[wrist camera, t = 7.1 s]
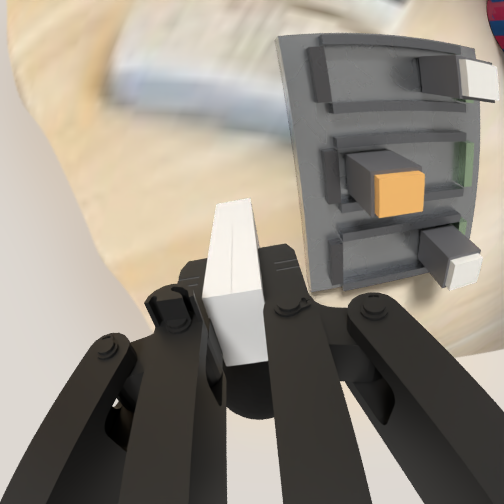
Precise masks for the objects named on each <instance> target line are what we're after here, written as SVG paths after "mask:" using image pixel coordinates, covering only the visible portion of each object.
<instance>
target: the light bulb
mask: <svg viewBox="0 0 504 504" xmlns="http://www.w3.org/2000/svg"><path fill="white" fill-rule="evenodd" d="M222 369H223V371H224V374H225V377H226V407H228V408H229V409H230V410H231V411H232V412H234V413H236V414H238V415H240V416H242V417H246V418H249V419H257V420H260V419H261V420H263V419H269V418H273V417H274V410H273V401H272V391H271V382H270V373H269V363H268V361H263V362H257V363H250V364H242V365H234V366H226V364H225V361H224V359H223V367H222Z"/></svg>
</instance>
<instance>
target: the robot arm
mask: <svg viewBox="0 0 504 504" xmlns="http://www.w3.org/2000/svg"><path fill="white" fill-rule="evenodd" d="M144 304H145V306H146V308H147V310H148V312H149V314H150V316H151V319H152V321H153V323H154V325H155V331H154V334H152V335H150V336H147V337H145V338H142V339H139V340H136V341H133V342H131V343H130V341H129V340H128V338H127V337H126V336H125V335H123V334H120V333H110V334H107V335H104V336H102V337H101V338H99V339H98V340H96V341H95V342H94V343H93V345H92V346H91V347H90V348H89V350H88V351H87V353H86V354H85V356H84V357H83V359H82V360H81V362H80V363H79V365H78V366H77V368H76V369H75V371H74V372H73V374H72V375H71V377H70V378H69V380H68V381H67V383H66V385H65V386H64V388H63V389H62V391H61V392H60V394H59V396H58V397H57V399H56V400H55V402H54V404H53V405H52V407H51V409H50V410H49V412H48V414H47V415H46V417H45V419H44V420H43V422H42V424H41V425H40V427H39V429H38V431H37V432H36V434H35V436H34V437H33V439H32V441H31V443H30V445H29V446H28V448H27V450H26V452H25V454H24V456H23V457H22V459H21V461H20V463H19V465H18V467H17V469H16V471H15V473H14V475H13V477H12V479H11V481H10V483H9V485H8V487H7V489H6V491H5V493H4V495H3V497H2V499H1V502H0V504H227V460H226V377H225V374H224V371H223V369H222V367H223V359H224V361H225V364H226V366H234V365H242V364H250V363H257V362H263V361H268V363H269V373H270V382H271V391H272V401H273V410H274V419H275V428H276V438H277V448H278V457H279V466H280V476H281V486H282V496H283V504H372V501H371V497H370V492H369V489H368V484H367V480H366V475H365V472H364V467H363V463H362V460H361V456H360V452H359V448H358V444H357V441H356V437H355V433H354V430H353V426H352V422H351V418H350V415H349V411H348V408H347V404H346V401H345V397H344V394H343V390H342V387H341V384H340V381H345V383H346V384H347V386H348V388H349V389H350V391H351V392H352V394H353V395H354V397H355V398H356V400H357V401H358V403H359V404H360V406H361V407H362V409H363V410H364V412H365V413H366V415H367V416H368V418H369V420H370V421H371V423H372V424H373V425H374V427H375V429H376V430H377V432H378V433H379V435H380V436H381V438H382V439H383V441H384V442H385V444H386V445H387V447H388V449H389V450H390V452H391V453H392V455H393V456H394V458H395V459H396V461H397V462H398V464H399V465H400V467H401V468H402V470H403V471H404V473H405V474H406V476H407V478H408V479H409V481H410V482H411V483H412V485H413V487H414V488H415V490H416V491H417V493H418V494H419V496H420V498H421V499H422V501H423V502H424V504H504V412H503V411H502V409H501V408H500V407H499V406H498V405H497V404H496V402H494V400H493V399H492V398H491V397H490V396H489V395H488V394H487V392H486V391H485V390H484V389H483V388H482V387H481V386H480V385H479V384H478V383H477V382H476V380H475V379H474V378H473V377H471V375H470V374H469V373H468V372H467V371H466V370H465V369H464V368H463V367H462V366H461V365H460V364H459V362H458V361H457V360H456V359H455V358H454V357H453V356H452V355H451V354H450V353H449V352H448V351H447V350H446V349H445V348H444V347H443V346H442V345H441V344H440V343H439V342H438V341H437V340H436V339H435V338H434V337H433V336H432V335H431V334H430V333H429V332H428V331H427V330H426V329H425V328H424V327H423V326H422V325H421V324H420V323H419V322H418V321H417V320H416V319H415V318H414V317H413V316H411V315H410V314H409V313H408V312H407V311H406V310H405V309H404V308H403V307H402V306H401V305H400V304H399V303H398V302H397V301H396V300H394V299H393V298H391V297H390V296H388V295H385V294H381V293H365V294H361V295H359V296H357V297H355V298H354V299H352V301H351V302H350V303H349V305H348V308H335V307H327V306H324V305H320V304H319V303H317V302H315V301H314V300H313V298H312V297H311V296H310V295H309V294H308V291H307V288H306V285H305V281H304V278H303V275H302V272H301V269H300V267H299V263H298V260H297V257H296V254H295V251H294V249H292V248H291V247H290V246H288V245H287V244H280V245H274V246H269V247H263V248H260V247H259V241H258V236H257V230H256V225H255V220H254V214H253V209H252V204H251V198H246V199H241V200H235V201H230V202H225V203H220V204H216V210H215V216H214V222H213V228H212V234H211V240H210V247H209V253H208V258H206V259H200V260H194V261H189V262H188V263H187V264H186V265H185V266H184V267H183V269H182V270H181V272H180V276H179V281H178V283H177V284H171V285H167V286H163V287H161V288H160V289H158V290H156V291H154V292H153V293H152V294H151V295H149V296H148V298H147V299H146V301H145V303H144ZM116 398H117V399H118V401H119V402H118V403H117V405H116V406H115V407H112V405H113V404H114V402H115V400H116Z"/></svg>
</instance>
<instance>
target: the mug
mask: <svg viewBox="0 0 504 504" xmlns="http://www.w3.org/2000/svg"><path fill="white" fill-rule="evenodd" d="M487 15H488V19H489V23H490V26H491V29H492V32H493V34H494V36H495V38H496V40H497V42H498V43H499V45H500V47H501V48H502V49H503V51H504V0H488V2H487Z"/></svg>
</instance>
